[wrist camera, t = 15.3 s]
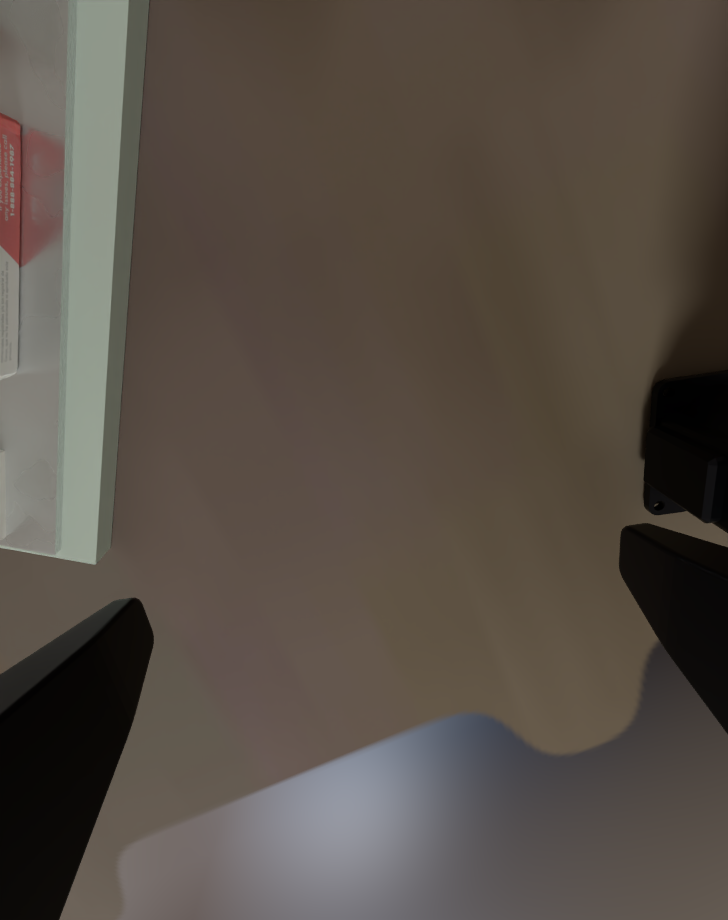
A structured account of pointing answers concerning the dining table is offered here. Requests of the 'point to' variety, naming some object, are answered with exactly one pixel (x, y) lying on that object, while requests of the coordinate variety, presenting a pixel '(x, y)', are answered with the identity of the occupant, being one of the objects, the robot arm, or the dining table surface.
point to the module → (2, 496)
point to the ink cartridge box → (9, 243)
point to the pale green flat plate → (39, 264)
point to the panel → (100, 263)
